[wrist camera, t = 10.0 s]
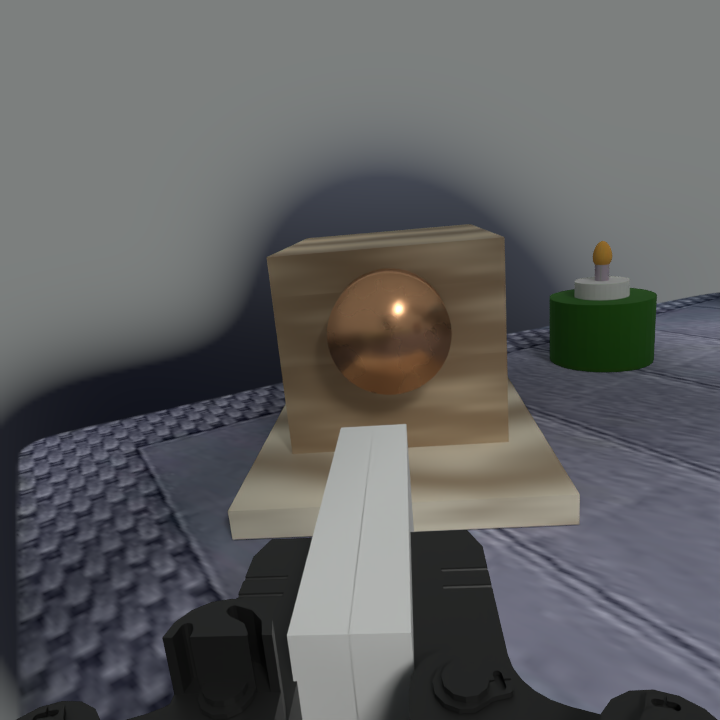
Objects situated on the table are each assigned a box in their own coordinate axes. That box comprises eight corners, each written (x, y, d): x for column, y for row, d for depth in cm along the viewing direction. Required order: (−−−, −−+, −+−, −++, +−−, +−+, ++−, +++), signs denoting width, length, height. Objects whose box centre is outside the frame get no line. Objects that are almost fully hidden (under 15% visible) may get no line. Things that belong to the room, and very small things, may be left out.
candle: (555, 345, 55) (555, 239, 53) (652, 347, 52) (657, 233, 49) (543, 370, 48) (542, 249, 46) (655, 374, 45) (661, 243, 42)
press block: (302, 394, 48) (283, 239, 44) (499, 381, 46) (495, 221, 43) (232, 539, 27) (188, 275, 24) (579, 524, 26) (583, 243, 23)
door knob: (354, 329, 44) (347, 249, 42) (434, 324, 43) (430, 242, 42) (333, 398, 29) (320, 278, 27) (454, 390, 28) (448, 268, 27)
